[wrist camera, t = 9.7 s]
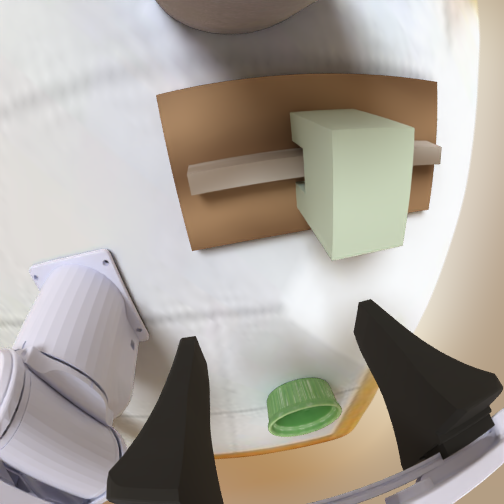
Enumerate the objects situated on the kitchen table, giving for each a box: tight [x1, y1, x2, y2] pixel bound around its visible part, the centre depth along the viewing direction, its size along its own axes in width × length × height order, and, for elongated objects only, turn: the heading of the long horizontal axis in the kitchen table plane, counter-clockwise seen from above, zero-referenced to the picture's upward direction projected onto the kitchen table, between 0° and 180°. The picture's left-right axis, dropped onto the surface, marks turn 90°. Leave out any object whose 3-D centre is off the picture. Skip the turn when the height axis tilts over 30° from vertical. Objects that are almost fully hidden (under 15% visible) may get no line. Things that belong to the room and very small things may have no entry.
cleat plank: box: [156, 73, 442, 251], centre depth 16 cm, size 10×18×3 cm, turn 97°
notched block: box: [290, 109, 415, 261], centre depth 14 cm, size 6×4×6 cm, turn 7°
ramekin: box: [267, 378, 342, 437], centre depth 32 cm, size 9×9×4 cm
